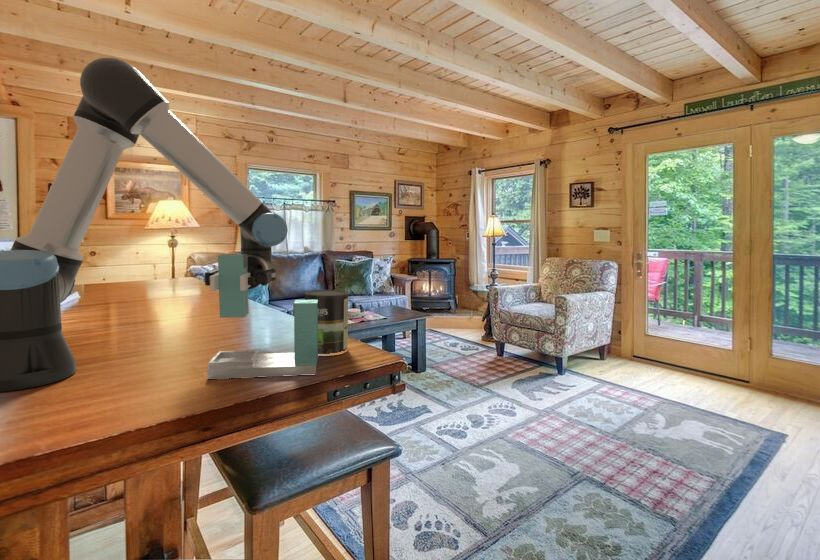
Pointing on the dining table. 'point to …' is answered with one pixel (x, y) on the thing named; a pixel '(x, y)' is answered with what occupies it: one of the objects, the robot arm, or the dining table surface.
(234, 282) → the mint green block
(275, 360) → the grey base with post
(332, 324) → the coffee can
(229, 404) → the dining table surface
